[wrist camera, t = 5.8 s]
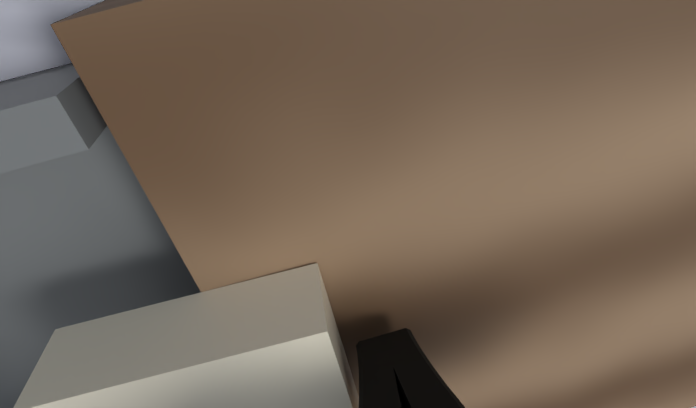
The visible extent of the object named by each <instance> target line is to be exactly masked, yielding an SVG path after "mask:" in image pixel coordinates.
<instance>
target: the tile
mask: <svg viewBox="0 0 696 408" xmlns="http://www.w3.org/2000/svg"><path fill="white" fill-rule="evenodd" d="M358 406H359V396H358V393H357V390H356V386H355V383H354V380H353V377H352V373H351V370H350V367H349V364H348V360H347V357H346V354H345V351H344V347H343V344H342V341H341V338H340V334H339V331H338V328H337V325H336V322H335V318H334V315H333V312H332V309H331V305H330V302H329V299H328V296H327V292H326V289H325V286H324V283H323V279H322V276H321V273H320V270H319V266H318V263H315V264H311V265H307V266H303V267H299V268H295V269H291V270H287V271H283V272H279V273H276V274H272V275H268V276H264V277H260V278H256V279H252V280H248V281H244V282H240V283H236V284H232V285H228V286H224V287H220V288H216V289H212V290H208V291H204V292H200V293H196V294H193V295H189V296H185V297H181V298H177V299H173V300H169V301H165V302H161V303H157V304H153V305H149V306H145V307H141V308H137V309H133V310H129V311H125V312H121V313H117V314H113V315H109V316H106V317H102V318H98V319H94V320H90V321H86V322H82V323H78V324H74V325H70V326H66V327H62V328H58V329H55V331H54V332H53V334H52V336H51V338H50V340H49V342H48V344H47V346H46V347H45V349H44V351H43V353H42V355H41V357H40V359H39V361H38V362H37V364H36V366H35V368H34V370H33V372H32V374H31V376H30V377H29V379H28V381H27V383H26V385H25V387H24V389H23V391H22V392H21V394H20V396H19V398H18V400H17V402H16V404H15V406H14V407H13V408H358Z"/></svg>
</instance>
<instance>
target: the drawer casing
mask: <svg viewBox="0 0 696 408" xmlns="http://www.w3.org/2000/svg"><path fill="white" fill-rule="evenodd" d="M51 26H52V28H53V30H54V32H55V34H56V35H57V37H58V39H59V41H60V42H61V44H62V46H63V48H64V50H65V51H66V53H67V55H68V57H69V58H70V60H71V62H72V64H73V66H74V67H75V69H76V71H77V73H78V74H79V76H80V78H81V80H82V82H83V83H84V85H85V87H86V89H87V90H88V92H89V94H90V96H91V98H92V99H93V101H94V103H95V105H96V106H97V108H98V110H99V112H100V114H101V115H102V117H103V119H104V121H105V122H106V124H107V126H108V128H109V130H110V131H111V133H112V135H113V137H114V138H115V140H116V142H117V144H118V146H119V147H120V149H121V151H122V153H123V154H124V156H125V158H126V160H127V162H128V163H129V165H130V167H131V169H132V170H133V172H134V174H135V176H136V178H137V179H138V181H139V183H140V185H141V186H142V188H143V190H144V192H145V194H146V195H147V197H148V199H149V201H150V202H151V204H152V206H153V208H154V210H155V211H156V213H157V215H158V217H159V218H160V220H161V222H162V224H163V226H164V227H165V229H166V231H167V233H168V234H169V236H170V238H171V240H172V242H173V243H174V245H175V247H176V249H177V250H178V252H179V254H180V256H181V258H182V259H183V261H184V263H185V265H186V266H187V268H188V270H189V272H190V273H191V275H192V277H193V279H194V281H195V282H196V284H197V286H198V288H199V289H200V291H201V292H204V291H208V290H212V289H216V288H220V287H224V286H228V285H232V284H236V283H240V282H244V281H248V280H252V279H256V278H260V277H264V276H268V275H272V274H276V273H279V272H283V271H287V270H291V269H295V268H299V267H303V266H307V265H311V264H315V263H318V266H319V270H320V273H321V276H322V279H323V283H324V286H325V289H326V292H327V296H328V299H329V302H330V305H331V309H332V312H333V315H334V318H335V322H336V325H337V328H338V331H339V334H340V338H341V341H342V344H343V347H344V351H345V354H346V357H347V360H348V364H349V367H350V370H351V373H352V377H353V380H354V383H355V386H356V390H357V393H358V396H359V368H358V356H357V349H356V345H357V344H358V342H359V341H362V340H366V339H369V338H372V337H376V336H379V335H383V334H386V333H390V332H393V331H397V330H400V329H404V328H407V329H410V330H411V332H412V334H413V336H414V338H415V339H416V341H417V343H418V344H419V346H420V348H421V349H422V351H423V352H424V354H425V355H426V357H427V358H428V360H429V361H430V363H431V364H432V365H433V367H434V368H435V370H436V371H437V372H438V374H439V375H440V376H441V378H442V379H443V380H444V382H445V383H446V384H447V386H448V387H449V388H450V389H451V390H452V392H453V393H454V394H455V395H456V397H457V398H458V399H459V400H460V402H461V403H462V404H463V405H464V407H465V408H691V407H694V406H696V0H105V1H103V2H101V3H98V4H96V5H94V6H91V7H89V8H87V9H85V10H82V11H80V12H78V13H76V14H73V15H71V16H69V17H67V18H64V19H62V20H60V21H57V22H55V23H53V24H51Z"/></svg>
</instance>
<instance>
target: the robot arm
mask: <svg viewBox="0 0 696 408" xmlns="http://www.w3.org/2000/svg"><path fill="white" fill-rule="evenodd" d="M356 349H357V356H358V368H359V406H358V408H465V407H464V405H463V404H462V403H461V402H460V400H459V399H458V398H457V397H456V395H455V394H454V393H453V392H452V390H451V389H450V388H449V387H448V386H447V384H446V383H445V382H444V380H443V379H442V378H441V376H440V375H439V374H438V372H437V371H436V370H435V368H434V367H433V365H432V364H431V363H430V361H429V360H428V358H427V357H426V355H425V354H424V352H423V351H422V349H421V348H420V346H419V344H418V343H417V341H416V339H415V338H414V336H413V334H412V332H411V330H410V329H407V328H404V329H400V330H397V331H393V332H390V333H386V334H383V335H379V336H376V337H372V338H369V339H366V340H362V341H359V342H358V344H357V345H356Z"/></svg>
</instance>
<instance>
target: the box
mask: <svg viewBox="0 0 696 408" xmlns="http://www.w3.org/2000/svg"><path fill="white" fill-rule="evenodd" d="M200 292H201V291H200V289H199V288H198V286H197V284H196V282H195V281H194V279H193V277H192V275H191V273H190V272H189V270H188V268H187V266H186V265H185V263H184V261H183V259H182V258H181V256H180V254H179V252H178V250H177V249H176V247H175V245H174V243H173V242H172V240H171V238H170V236H169V234H168V233H167V231H166V229H165V227H164V226H163V224H162V222H161V220H160V218H159V217H158V215H157V213H156V211H155V210H154V208H153V206H152V204H151V202H150V201H149V199H148V197H147V195H146V194H145V192H144V190H143V188H142V186H141V185H140V183H139V181H138V179H137V178H136V176H135V174H134V172H133V170H132V169H131V167H130V165H129V163H128V162H127V160H126V158H125V156H124V154H123V153H122V151H121V149H120V147H119V146H118V144H117V142H116V140H115V138H114V137H113V135H112V133H111V131H110V130H109V128H108V126H107V124H106V122H105V121H104V119H103V117H102V115H101V114H100V112H99V110H98V108H97V106H96V105H95V103H94V101H93V99H92V98H91V96H90V94H89V92H88V90H87V89H86V87H85V85H84V83H83V82H82V80H81V78H80V76H79V74H78V73H77V71H76V69H75V67H74V66H73V64H72V63H70V64H67V65H63V66H59V67H55V68H51V69H48V70H44V71H40V72H36V73H32V74H29V75H25V76H21V77H17V78H13V79H10V80H6V81H2V82H0V408H13V407H14V406H15V404H16V402H17V400H18V398H19V396H20V394H21V392H22V391H23V389H24V387H25V385H26V383H27V381H28V379H29V377H30V376H31V374H32V372H33V370H34V368H35V366H36V364H37V362H38V361H39V359H40V357H41V355H42V353H43V351H44V349H45V347H46V346H47V344H48V342H49V340H50V338H51V336H52V334H53V332H54V331H55V329H58V328H62V327H66V326H70V325H74V324H78V323H82V322H86V321H90V320H94V319H98V318H102V317H106V316H109V315H113V314H117V313H121V312H125V311H129V310H133V309H137V308H141V307H145V306H149V305H153V304H157V303H161V302H165V301H169V300H173V299H177V298H181V297H185V296H189V295H193V294H196V293H200Z"/></svg>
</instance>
